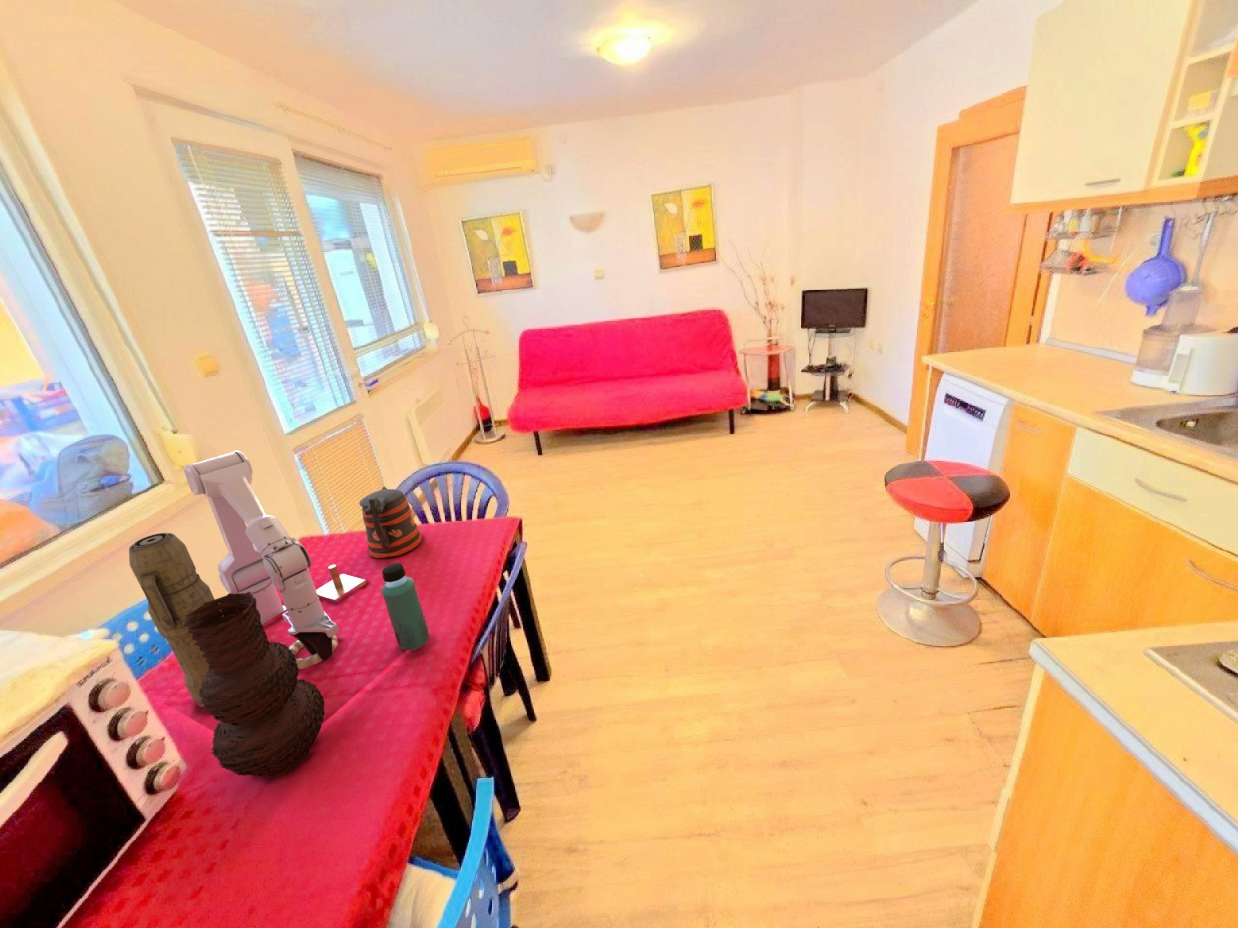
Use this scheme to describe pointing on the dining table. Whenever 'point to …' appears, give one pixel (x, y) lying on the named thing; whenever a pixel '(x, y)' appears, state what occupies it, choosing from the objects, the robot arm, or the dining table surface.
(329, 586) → the stand
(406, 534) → the beer stein
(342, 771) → the dining table surface
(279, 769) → the vase
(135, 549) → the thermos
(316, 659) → the ring
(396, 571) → the beverage bottle
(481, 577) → the dining table surface
